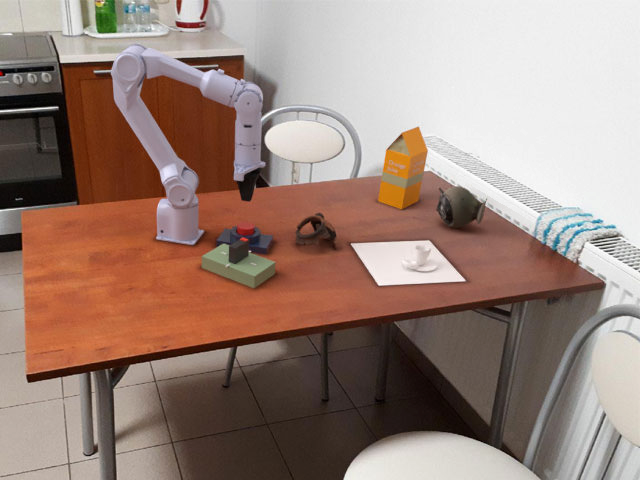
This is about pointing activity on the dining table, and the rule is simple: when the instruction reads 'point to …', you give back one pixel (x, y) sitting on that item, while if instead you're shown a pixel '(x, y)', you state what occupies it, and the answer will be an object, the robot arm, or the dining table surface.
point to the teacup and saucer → (406, 263)
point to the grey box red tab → (238, 250)
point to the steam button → (245, 228)
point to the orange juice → (403, 170)
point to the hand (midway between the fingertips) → (246, 200)
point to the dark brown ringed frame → (316, 231)
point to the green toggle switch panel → (239, 266)
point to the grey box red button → (256, 240)
